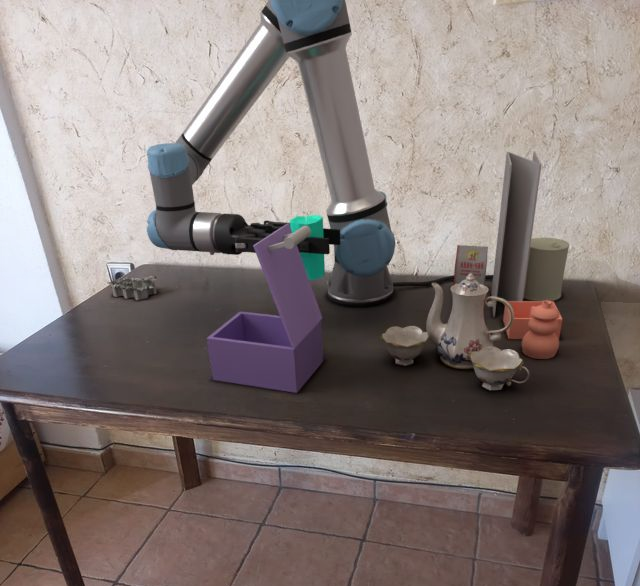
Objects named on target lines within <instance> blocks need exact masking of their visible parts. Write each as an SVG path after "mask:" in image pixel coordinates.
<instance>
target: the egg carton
mask: <svg viewBox="0 0 640 586" xmlns="http://www.w3.org/2000/svg"><path fill="white" fill-rule="evenodd" d="M157 279H158V278H157V276H156V275H147V276H146V277H141V278H140V277H132V278H130V277H127V276H126V277H125V276H123V278H121V277H119V278H116V279H112V280H111V281H107V283H108V285H110V286H111V290H112V291H111V292H112V295H113V297H114V298H118V297H123V298H124V299H127V300H128V299H132V298H133V299H135V300H136V301H141V300H146V299H148V298H149V296H151V295H156V294H157V293H158V291H157V287H156V283H155V281H156V280H157Z"/></svg>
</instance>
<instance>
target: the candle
mask: <svg viewBox="0 0 640 586" xmlns="http://www.w3.org/2000/svg"><path fill="white" fill-rule="evenodd" d="M307 214H308V213H307V212H305V216H303V215H297V216H295V217H293V218H291V219H289V223H290V227H291V230H292V233H294V232H295V231H297V230H298V229H300V228H301V227H303V226H308V227H309V228H310V229H311V234H310V236H308V237H320V238H324V236H323V228H324V217H323V216H321V215H319V214H310V215H307ZM299 253H300V256H301V258H302V261H303V264H304V267H305V270H306V273H307V276H308V278H309V281H315V280H320V279H321V278H323V277H324V276H325V275H326V266H325V254H316V253H303V252H299Z"/></svg>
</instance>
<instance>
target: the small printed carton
mask: <svg viewBox="0 0 640 586" xmlns="http://www.w3.org/2000/svg"><path fill="white" fill-rule="evenodd" d="M488 253H489V246H485V245H468V244H467V245H465V244H464V245H463V244H457V247H456V254H455V263H454V273H453V275H454V279H453V285H452V286H454V285H455V284H460V283H461V282H462V281H463V280H466V277H467V276H468V275H469V274H470V273H472V274H473V276H474V277H475V279H474V280H476V281H478V282H479V284H482V285H484V286H486V279H485V277H486V275H487V267H488Z"/></svg>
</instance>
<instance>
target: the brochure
mask: <svg viewBox="0 0 640 586" xmlns="http://www.w3.org/2000/svg"><path fill="white" fill-rule="evenodd" d="M542 165H543V164H542V163H541V160H540V158H539V156H538V154H537V152H536V151H535V150H533V152H532V159H529V158H526V157H523V156H521V155H518V154H516V153H513V152H510V151H506V154H505V164H504V171H503V183H502V191H501V200H500V208H499V209H500V210H499V220H498V227H497V228H498V229H497V238H496V248H495V254H494V256H495V257H494V265H493V274H492V275H493V279H492V282H491V283H492V284H491V291H490V293H491V296H494V297H499V298H503V299H505V300H506V301H524V298H523V296H524V289H525V282H526V274H527V267H528V260H529V253H530V245H531V239H533V238H532V237H533V232H534V231H533V230H534V224H535V223H534V222H535V215H536V208H537V201H538V194H539V186H540V180H541V173H542ZM491 300H492V301H493V306H492V317H493V318H496V308H497V301H496V300H493V299H491ZM503 305H504V306H505V304H503Z"/></svg>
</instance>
